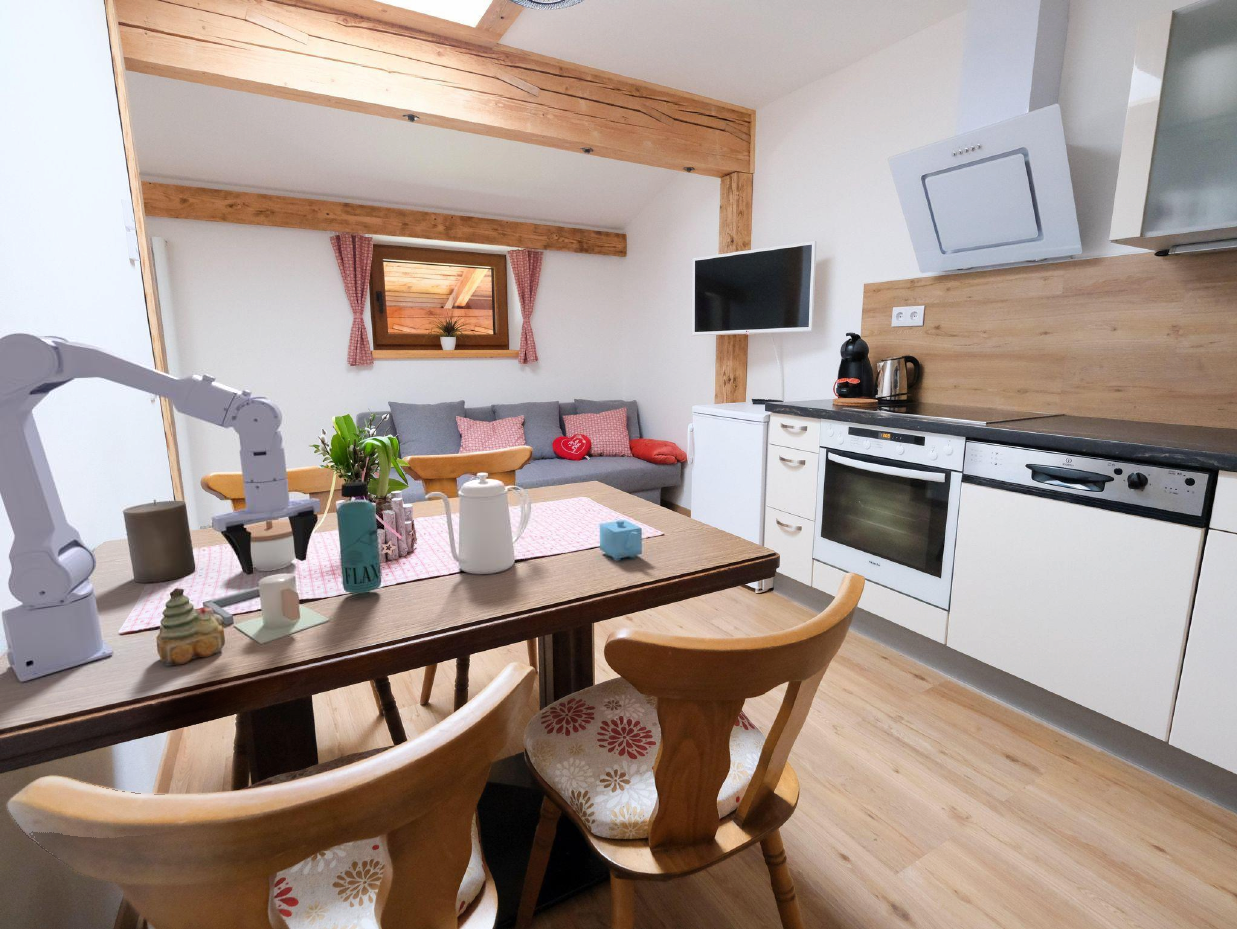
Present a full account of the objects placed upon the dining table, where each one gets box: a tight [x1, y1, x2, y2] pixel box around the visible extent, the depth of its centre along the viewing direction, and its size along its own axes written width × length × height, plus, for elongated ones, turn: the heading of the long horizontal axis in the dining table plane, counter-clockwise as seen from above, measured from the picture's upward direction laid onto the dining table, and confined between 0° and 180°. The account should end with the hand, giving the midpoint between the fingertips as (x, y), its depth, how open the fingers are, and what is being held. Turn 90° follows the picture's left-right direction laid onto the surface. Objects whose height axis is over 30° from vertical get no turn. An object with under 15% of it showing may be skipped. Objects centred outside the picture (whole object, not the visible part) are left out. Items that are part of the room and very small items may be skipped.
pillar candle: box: [122, 499, 196, 584], centre depth 116 cm, size 10×10×15 cm
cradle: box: [202, 586, 300, 626], centre depth 101 cm, size 11×10×1 cm
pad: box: [233, 603, 330, 645], centre depth 94 cm, size 10×10×1 cm
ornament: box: [156, 587, 226, 667], centre depth 84 cm, size 8×6×10 cm
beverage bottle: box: [335, 481, 383, 594], centre depth 104 cm, size 6×7×20 cm
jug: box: [258, 573, 300, 629], centre depth 93 cm, size 8×5×7 cm, turn 51°
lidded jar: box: [245, 520, 296, 572], centre depth 120 cm, size 11×11×9 cm
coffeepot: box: [424, 472, 532, 575], centre depth 117 cm, size 11×25×19 cm, turn 143°
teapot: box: [599, 519, 643, 562], centre depth 123 cm, size 12×6×8 cm, turn 27°
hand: (275, 565), depth 93 cm, fingers open, 7 cm apart
